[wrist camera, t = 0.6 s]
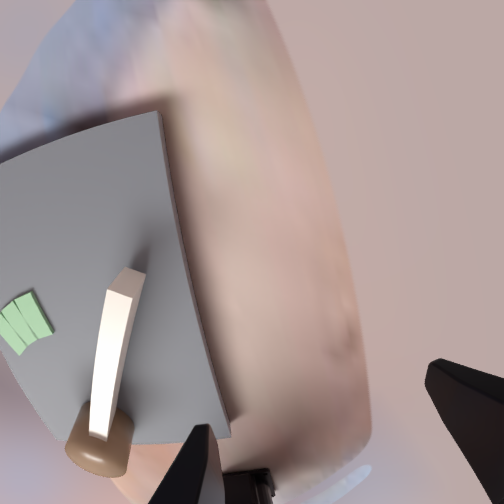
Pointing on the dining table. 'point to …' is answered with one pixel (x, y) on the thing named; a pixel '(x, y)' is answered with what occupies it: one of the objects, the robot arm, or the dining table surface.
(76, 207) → the dial plate
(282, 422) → the dining table surface
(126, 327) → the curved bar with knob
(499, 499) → the robot arm
